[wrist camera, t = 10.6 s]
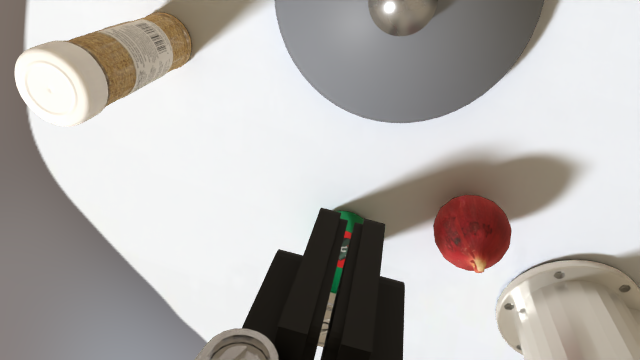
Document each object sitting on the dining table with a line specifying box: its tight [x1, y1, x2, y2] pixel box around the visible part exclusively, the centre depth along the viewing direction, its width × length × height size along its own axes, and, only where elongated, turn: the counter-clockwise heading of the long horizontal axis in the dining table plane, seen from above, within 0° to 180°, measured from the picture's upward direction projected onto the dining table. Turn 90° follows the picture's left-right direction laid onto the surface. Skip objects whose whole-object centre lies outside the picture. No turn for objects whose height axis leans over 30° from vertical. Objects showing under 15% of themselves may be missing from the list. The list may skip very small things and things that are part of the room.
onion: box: [433, 195, 511, 273], centre depth 34 cm, size 6×6×8 cm
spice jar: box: [15, 12, 192, 127], centre depth 29 cm, size 5×5×13 cm
